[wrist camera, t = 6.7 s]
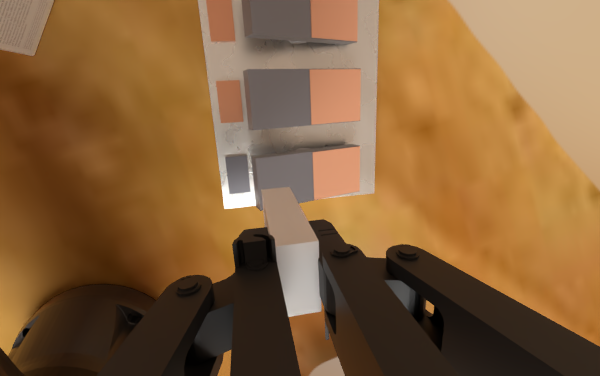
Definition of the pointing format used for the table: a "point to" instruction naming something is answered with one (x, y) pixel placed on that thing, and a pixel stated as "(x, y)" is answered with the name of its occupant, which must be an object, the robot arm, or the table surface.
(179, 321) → the robot arm
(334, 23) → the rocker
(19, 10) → the small box
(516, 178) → the table surface
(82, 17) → the table surface
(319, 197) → the rocker
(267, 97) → the rocker
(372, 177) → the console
